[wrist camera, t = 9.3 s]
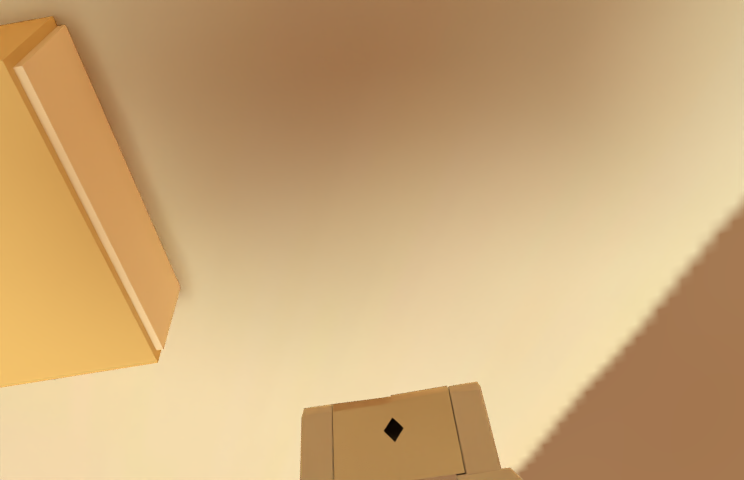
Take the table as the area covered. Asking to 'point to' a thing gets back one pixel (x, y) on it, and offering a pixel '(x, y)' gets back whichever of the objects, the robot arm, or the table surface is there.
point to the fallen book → (70, 223)
